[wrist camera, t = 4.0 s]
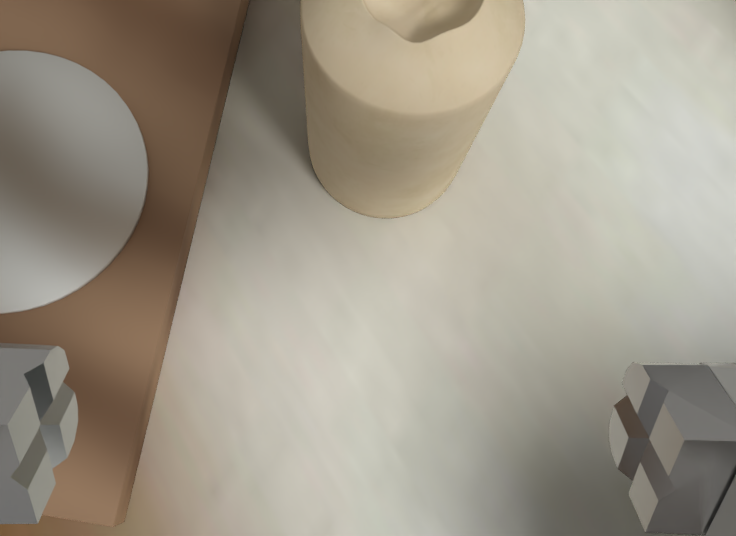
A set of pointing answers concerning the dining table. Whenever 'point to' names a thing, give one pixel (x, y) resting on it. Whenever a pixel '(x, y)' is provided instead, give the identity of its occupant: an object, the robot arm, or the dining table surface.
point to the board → (105, 205)
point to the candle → (401, 93)
